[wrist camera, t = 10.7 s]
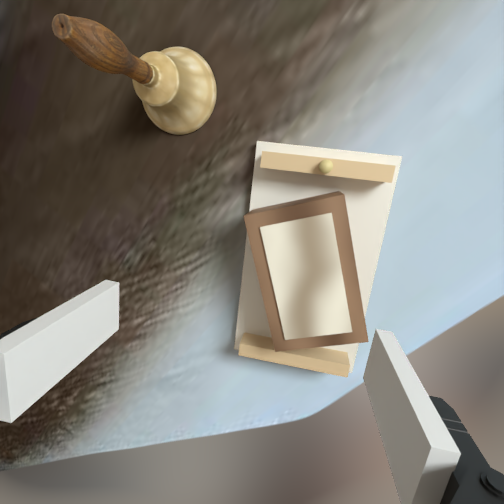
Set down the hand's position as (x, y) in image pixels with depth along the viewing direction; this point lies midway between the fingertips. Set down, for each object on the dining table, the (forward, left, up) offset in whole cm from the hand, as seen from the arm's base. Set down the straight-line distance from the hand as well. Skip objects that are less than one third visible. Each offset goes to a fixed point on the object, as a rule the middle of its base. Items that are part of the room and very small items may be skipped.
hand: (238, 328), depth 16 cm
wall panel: (+4, -2, -20) cm, 20 cm away
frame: (+4, -2, -19) cm, 19 cm away
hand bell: (-12, +14, -20) cm, 28 cm away
